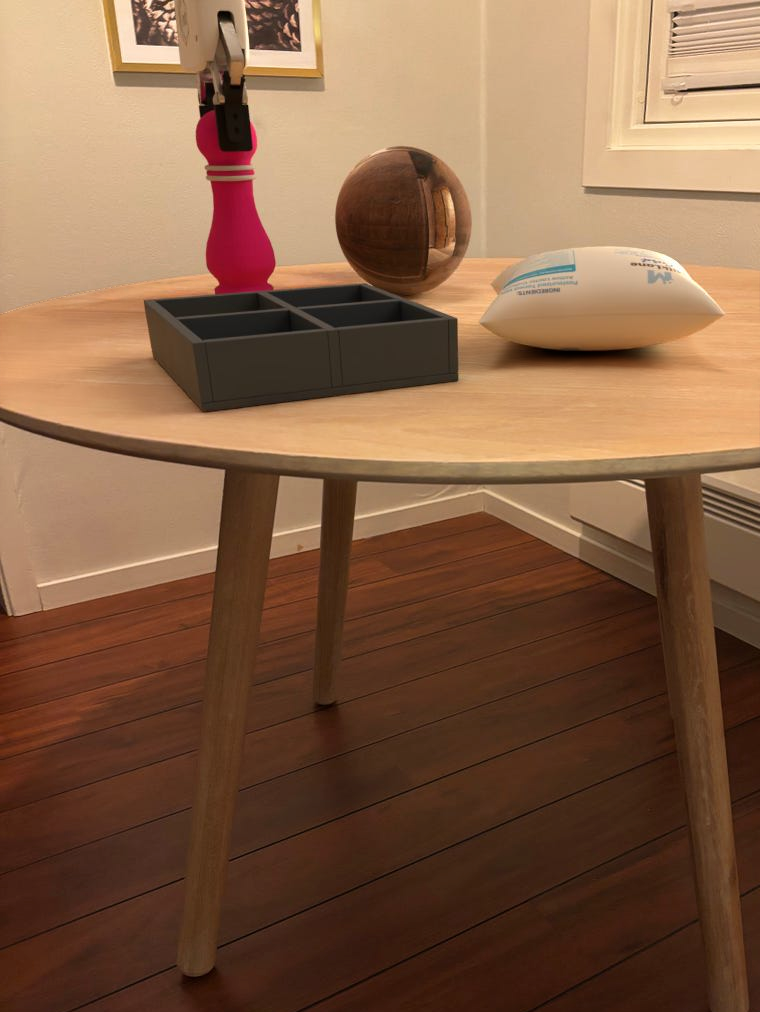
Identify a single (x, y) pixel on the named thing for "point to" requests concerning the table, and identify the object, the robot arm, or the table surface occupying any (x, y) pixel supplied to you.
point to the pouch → (597, 300)
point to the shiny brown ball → (403, 220)
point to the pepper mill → (234, 216)
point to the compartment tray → (299, 344)
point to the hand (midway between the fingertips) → (227, 148)
